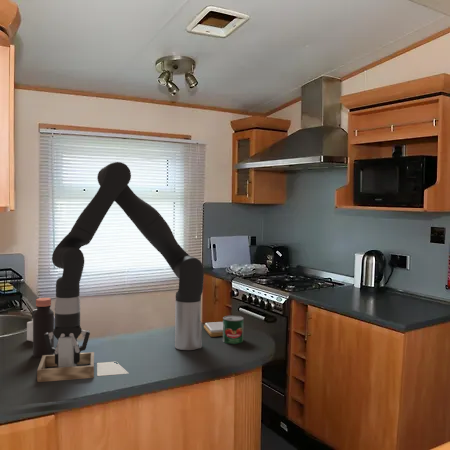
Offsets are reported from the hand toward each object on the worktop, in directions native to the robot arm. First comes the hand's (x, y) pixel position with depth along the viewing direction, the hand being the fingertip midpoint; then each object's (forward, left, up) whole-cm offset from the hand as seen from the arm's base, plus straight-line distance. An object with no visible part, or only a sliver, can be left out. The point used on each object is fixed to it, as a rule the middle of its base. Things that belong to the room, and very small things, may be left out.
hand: (67, 364), depth 144 cm
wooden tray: (0, 0, -3) cm, 3 cm away
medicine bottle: (+12, -40, -3) cm, 42 cm away
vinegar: (+9, -19, -3) cm, 21 cm away
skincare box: (0, 0, -3) cm, 3 cm away
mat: (-15, 0, -3) cm, 15 cm away
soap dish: (-57, -29, -3) cm, 64 cm away
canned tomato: (-59, -16, -3) cm, 61 cm away
